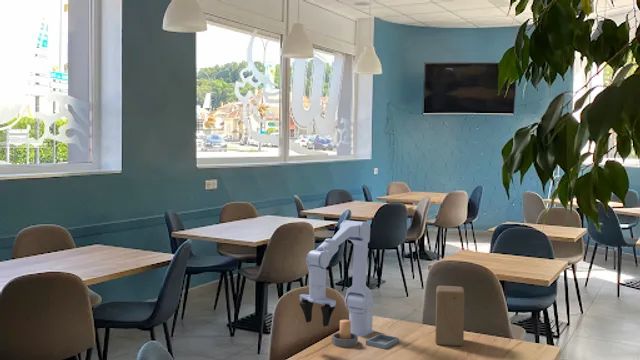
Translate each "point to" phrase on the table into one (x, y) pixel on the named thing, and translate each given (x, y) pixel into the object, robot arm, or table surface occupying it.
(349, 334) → the dowel
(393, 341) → the tray
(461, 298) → the wooden block
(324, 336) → the table surface
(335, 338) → the grey round bowl
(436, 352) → the table surface
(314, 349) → the table surface
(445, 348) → the table surface
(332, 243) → the robot arm
